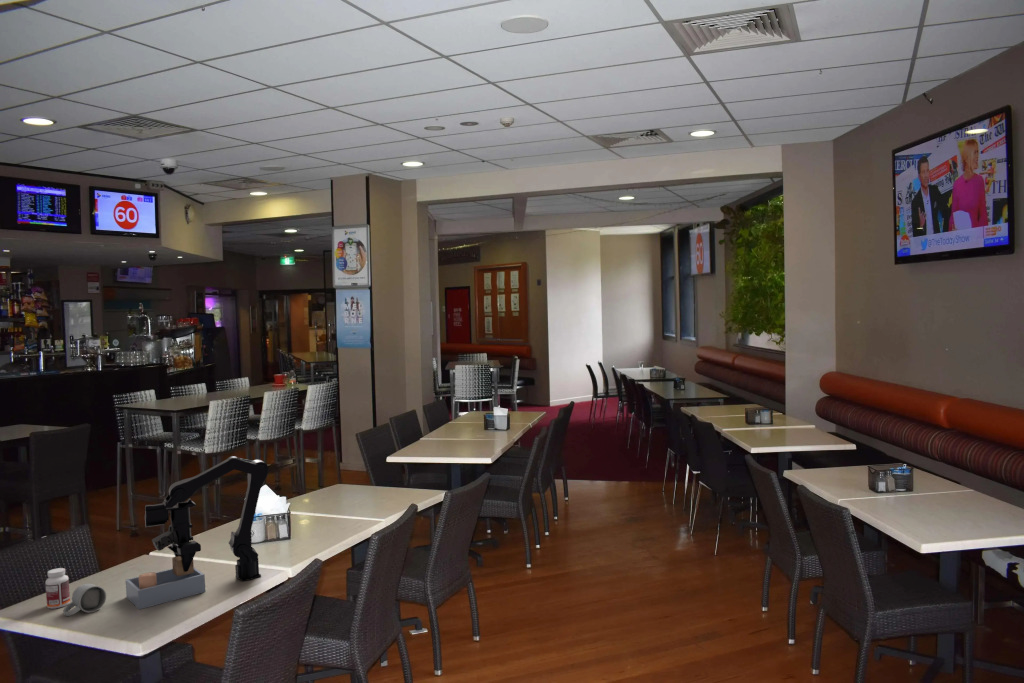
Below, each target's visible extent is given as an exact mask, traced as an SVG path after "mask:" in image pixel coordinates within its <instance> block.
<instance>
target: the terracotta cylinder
mask: <svg viewBox="0 0 1024 683" xmlns="http://www.w3.org/2000/svg"><path fill="white" fill-rule="evenodd" d="M137 577H139V589H140V590H141V589H145V588H149V587H153V586H157V578H156V571H149V572H144V573H142V574H139V575H138V576H137Z"/></svg>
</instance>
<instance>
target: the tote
mask: <svg viewBox="0 0 1024 683" xmlns="http://www.w3.org/2000/svg"><path fill="white" fill-rule="evenodd" d="M155 572H156V571H155ZM156 578H157V586H153V587H149V588H145V589H141V590H140V589H139V577H138V576H136V577H131V578H127V579H125V594H126V596H125V597H126V598H127V599H128V600H129V601H130V602H131V603H132V605H134V606H135V607H136V608H137V609H138V610H141V609H145V608H149V607H152V606H156V605H160V604H165V603H168V602H171V601H176V600H179V599H180V600H181V599H184V598H187V597H191V596H195V595H198V594H201V593H206V581H205V578H206V576H205V573H203V572H202V571H200V570H199V569H197V568H196V567H194V573H190V574H186V575H182V576H176V575H175V574H174V573H173V568H169V569H165V570H161V571H157V572H156Z"/></svg>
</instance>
